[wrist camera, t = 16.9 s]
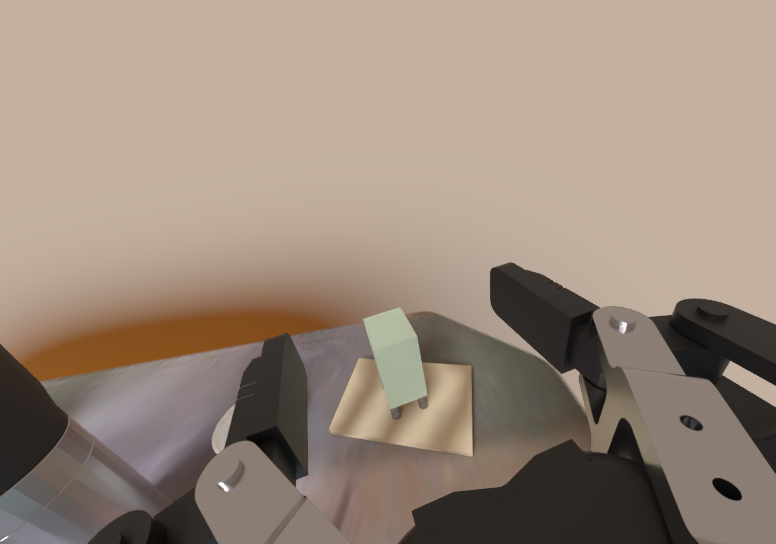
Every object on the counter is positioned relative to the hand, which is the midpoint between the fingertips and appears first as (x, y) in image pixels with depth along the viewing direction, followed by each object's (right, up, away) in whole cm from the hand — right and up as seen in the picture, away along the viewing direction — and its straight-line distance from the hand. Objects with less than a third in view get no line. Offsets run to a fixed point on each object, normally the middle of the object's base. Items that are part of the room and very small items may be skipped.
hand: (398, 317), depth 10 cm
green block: (+1, -13, +26) cm, 30 cm away
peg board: (+2, -17, +28) cm, 33 cm away
